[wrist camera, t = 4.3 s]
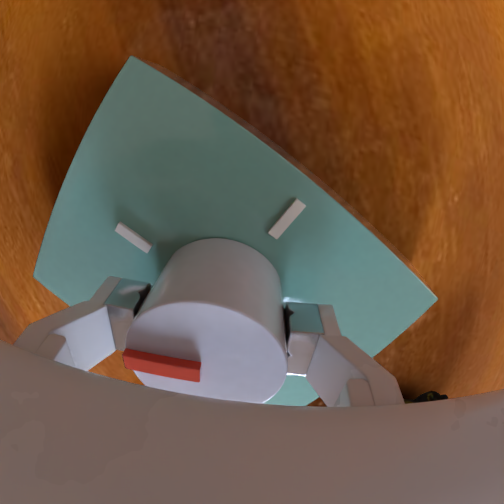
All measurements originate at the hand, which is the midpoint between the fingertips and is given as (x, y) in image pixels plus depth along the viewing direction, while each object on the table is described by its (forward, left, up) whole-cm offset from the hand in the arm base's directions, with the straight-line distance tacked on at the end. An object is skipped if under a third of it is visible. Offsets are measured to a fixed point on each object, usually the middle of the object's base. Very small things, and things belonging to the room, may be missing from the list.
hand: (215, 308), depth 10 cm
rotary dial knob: (0, 0, -1) cm, 1 cm away
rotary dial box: (0, 0, -4) cm, 4 cm away
